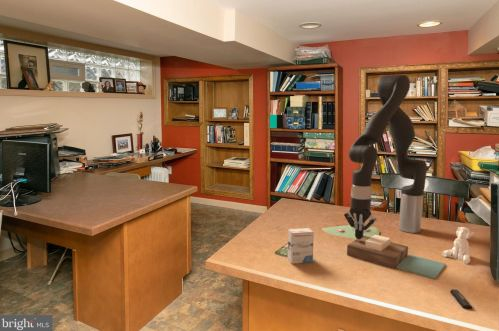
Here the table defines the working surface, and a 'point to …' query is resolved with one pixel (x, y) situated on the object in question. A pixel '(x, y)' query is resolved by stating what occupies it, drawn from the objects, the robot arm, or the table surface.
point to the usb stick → (461, 299)
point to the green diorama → (350, 231)
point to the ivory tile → (377, 242)
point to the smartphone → (283, 251)
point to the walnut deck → (378, 253)
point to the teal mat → (421, 266)
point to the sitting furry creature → (460, 246)
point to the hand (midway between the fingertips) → (358, 238)
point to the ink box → (300, 245)
